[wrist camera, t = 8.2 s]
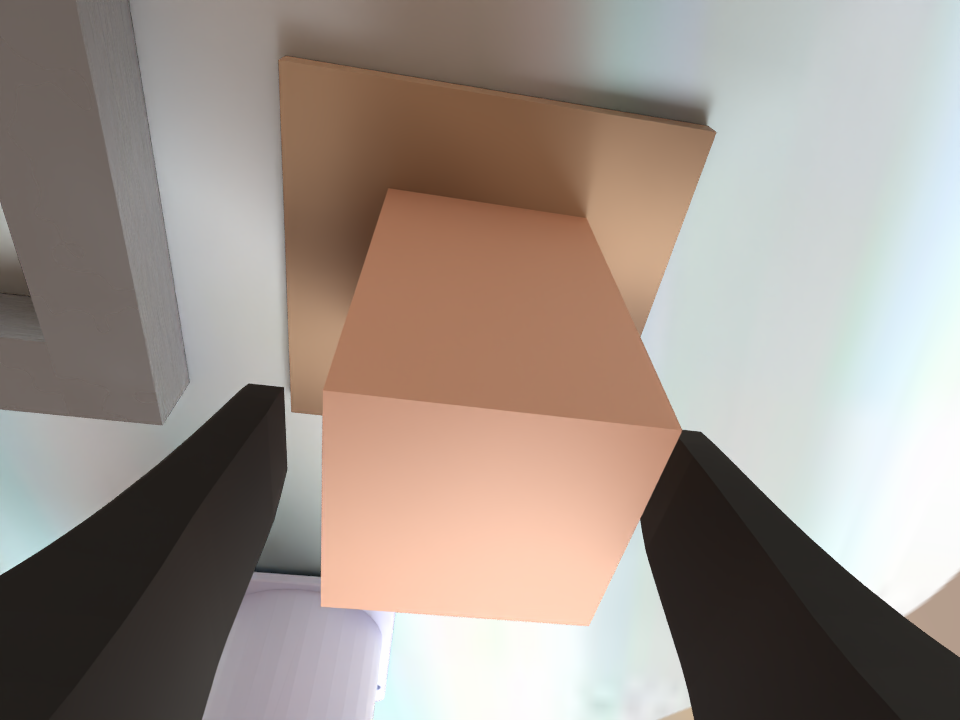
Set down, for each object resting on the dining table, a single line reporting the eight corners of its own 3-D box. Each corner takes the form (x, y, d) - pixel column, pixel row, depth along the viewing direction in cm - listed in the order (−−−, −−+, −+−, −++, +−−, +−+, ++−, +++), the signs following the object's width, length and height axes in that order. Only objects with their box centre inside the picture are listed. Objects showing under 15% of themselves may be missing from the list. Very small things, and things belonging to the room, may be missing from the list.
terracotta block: (542, 374, 18) (588, 625, 11) (376, 354, 17) (320, 606, 11) (586, 217, 15) (682, 430, 8) (388, 187, 14) (323, 390, 8)
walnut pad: (597, 431, 20) (600, 444, 19) (295, 400, 19) (291, 412, 18) (707, 125, 14) (716, 132, 14) (285, 55, 13) (278, 59, 13)
